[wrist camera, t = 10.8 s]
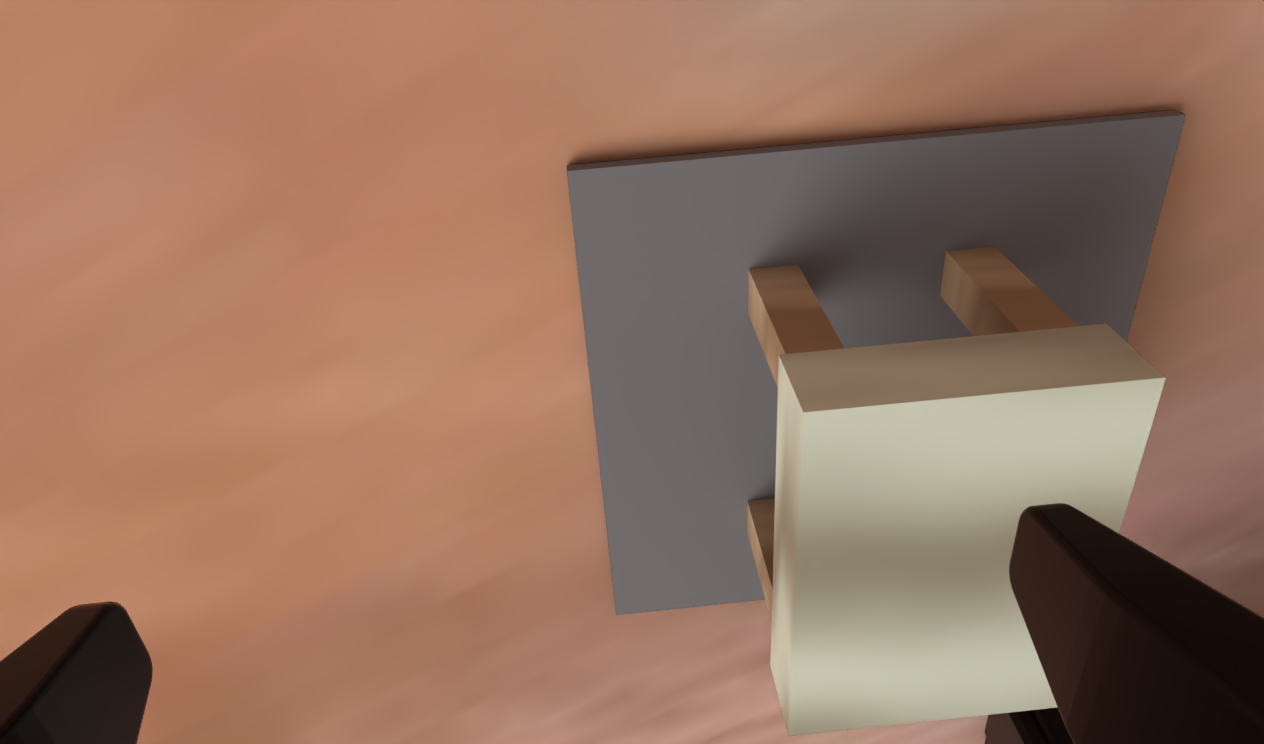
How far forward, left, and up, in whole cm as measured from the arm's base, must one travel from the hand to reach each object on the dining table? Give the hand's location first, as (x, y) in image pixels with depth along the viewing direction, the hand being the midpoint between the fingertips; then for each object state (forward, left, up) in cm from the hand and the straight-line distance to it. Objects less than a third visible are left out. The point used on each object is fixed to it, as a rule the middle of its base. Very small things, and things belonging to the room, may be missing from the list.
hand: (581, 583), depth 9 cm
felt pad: (-7, +7, -13) cm, 16 cm away
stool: (-7, +7, -13) cm, 16 cm away
